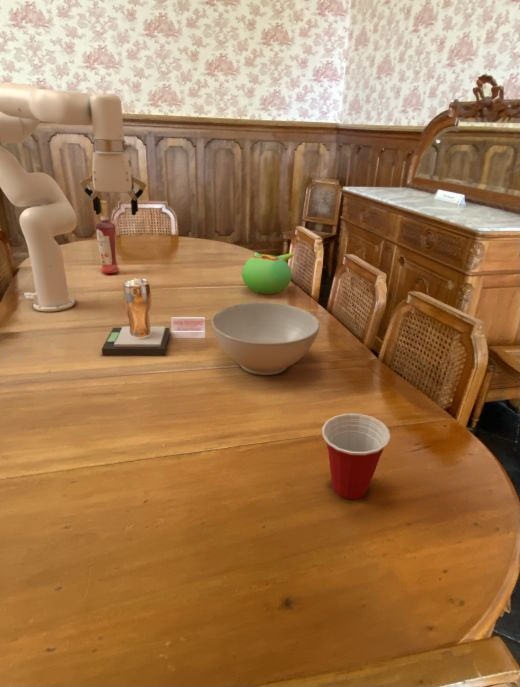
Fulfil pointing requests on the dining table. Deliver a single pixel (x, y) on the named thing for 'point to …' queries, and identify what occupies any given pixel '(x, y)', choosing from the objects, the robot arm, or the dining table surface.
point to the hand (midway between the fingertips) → (116, 214)
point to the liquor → (107, 242)
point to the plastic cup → (354, 451)
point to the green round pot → (267, 273)
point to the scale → (136, 342)
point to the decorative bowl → (265, 335)
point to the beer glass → (138, 307)
